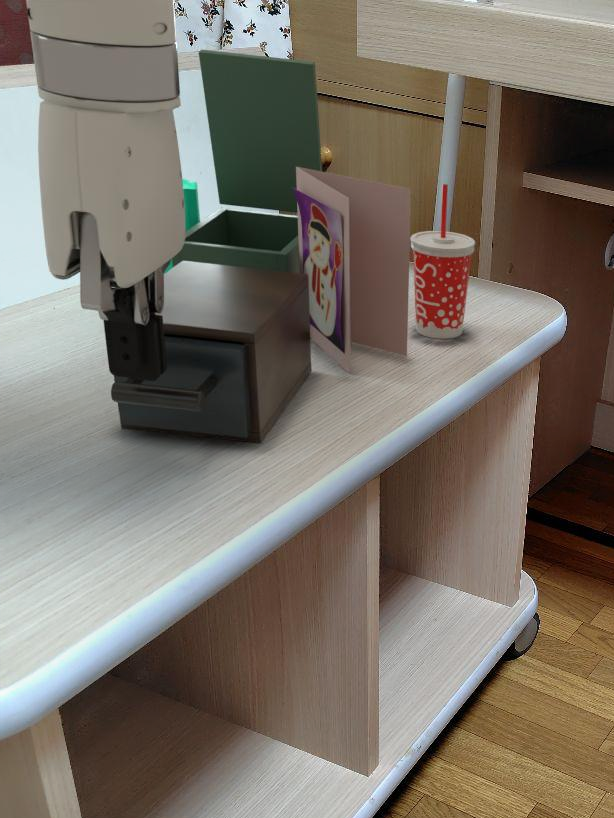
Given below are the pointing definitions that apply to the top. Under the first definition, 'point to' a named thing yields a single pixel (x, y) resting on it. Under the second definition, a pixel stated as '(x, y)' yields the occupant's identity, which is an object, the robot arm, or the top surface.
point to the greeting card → (354, 261)
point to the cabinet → (245, 329)
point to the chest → (244, 241)
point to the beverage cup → (441, 278)
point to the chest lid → (260, 126)
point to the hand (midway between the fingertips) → (138, 373)
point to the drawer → (191, 390)
